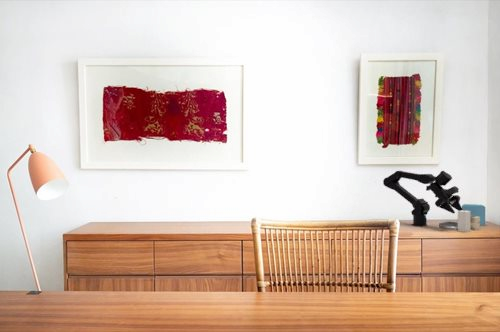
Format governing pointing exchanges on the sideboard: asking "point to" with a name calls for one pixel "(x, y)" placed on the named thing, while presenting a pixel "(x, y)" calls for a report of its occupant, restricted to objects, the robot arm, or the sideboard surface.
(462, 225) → the cream block
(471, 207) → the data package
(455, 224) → the tray
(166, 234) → the sideboard surface
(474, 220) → the birch block
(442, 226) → the cylinder
